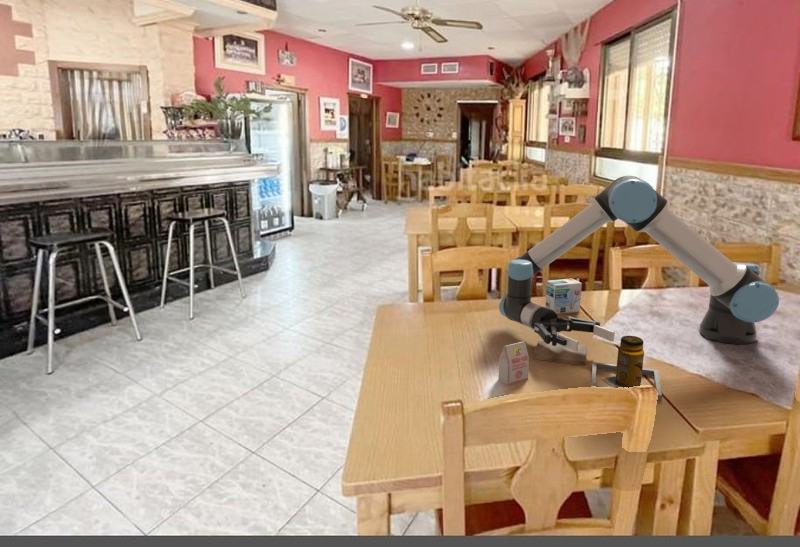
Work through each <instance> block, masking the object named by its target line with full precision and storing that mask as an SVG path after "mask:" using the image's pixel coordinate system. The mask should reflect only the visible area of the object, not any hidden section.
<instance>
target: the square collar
mask: <svg viewBox="0 0 800 547" xmlns="http://www.w3.org/2000/svg"><path fill="white" fill-rule="evenodd" d="M591 368H592V370H591V379H590V387H591V386H596V387H612V386H611V385H610V386H609V385H603V384H596V377H597V370H601V371H602V370H603V371H610V372H616V368H617V364H613V363H605V362H597V361H596V362H595V361H593V362H592V367H591ZM642 376H649V377H653V383H654V384H653V385H654V388H655V387H656V389H657V391H658V402H662V401H663V392H662V387H661V386H662V385H661V381H660V374H659V369H652V368H647V367H646V368H645V367H643V369H642ZM614 388H618V387H614Z"/></svg>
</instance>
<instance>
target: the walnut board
mask: <svg viewBox="0 0 800 547" xmlns="http://www.w3.org/2000/svg"><path fill="white" fill-rule="evenodd" d="M587 351H588V346H587V345H582V344H581V345H580V344H578V351H573V350H571V349H569V348H567V347H564V346H562V345H560V344H558V343H557V345H556V346H553V345H552V342H550V344H546V343H545V342H544V340H538V342H537V344H536V346H535V350H534V352H533V355H532V359H533V360H540V361H541V360H542V361H547V362H555V363H557V362H558V363H565V364H571V365H572V364H573V365H578V366H579V365H580V366H586V360H587V353H588V352H587Z"/></svg>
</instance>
